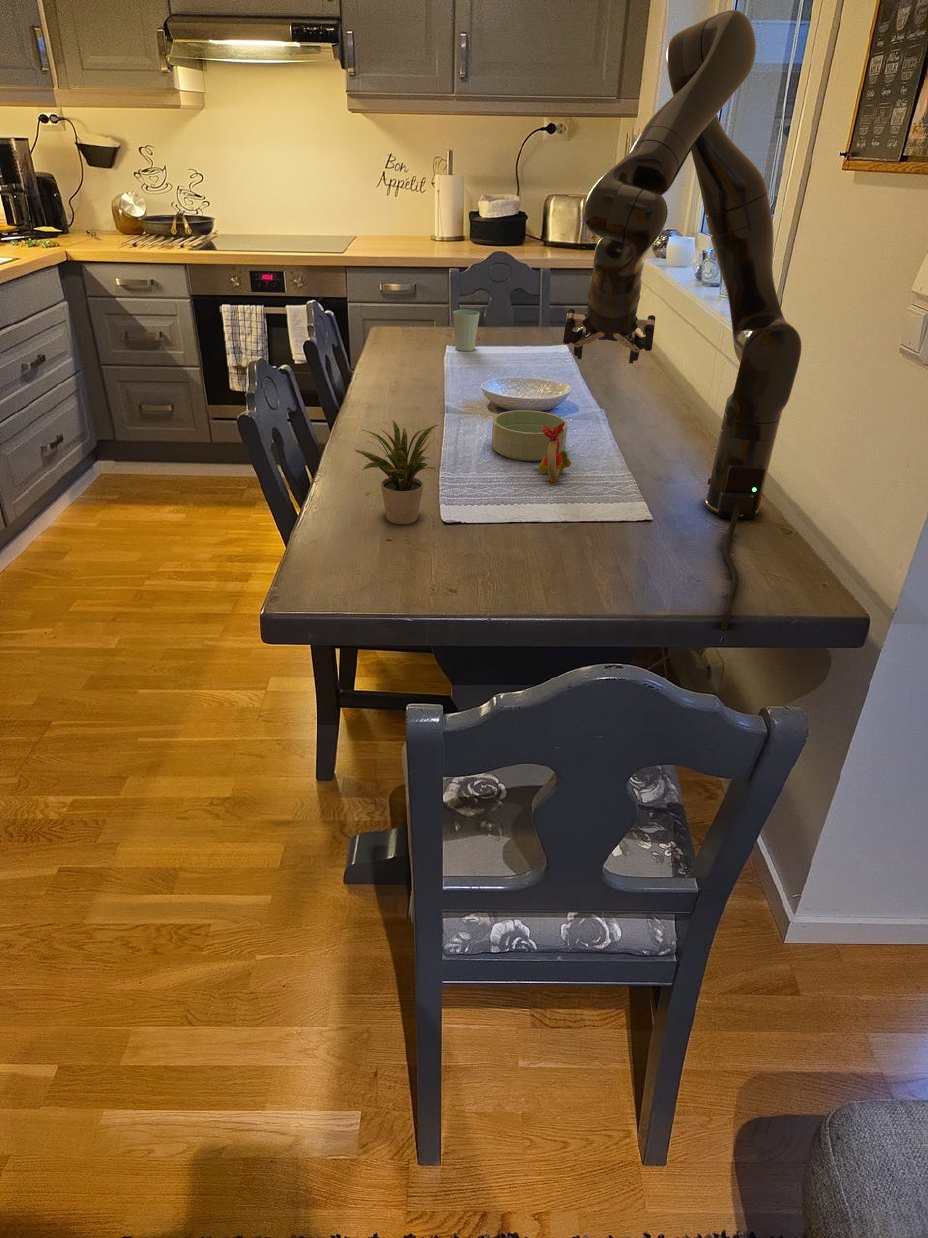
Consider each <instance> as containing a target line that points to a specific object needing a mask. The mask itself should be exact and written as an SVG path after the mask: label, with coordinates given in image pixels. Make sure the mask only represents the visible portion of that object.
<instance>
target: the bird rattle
mask: <svg viewBox="0 0 928 1238" xmlns="http://www.w3.org/2000/svg"><path fill="white" fill-rule="evenodd" d="M564 424H565V422H562V423H561V424H559V425H558V426H556V427H555V428H554V429H553V430H551V429H550V428H549V427H548V426H546V425H543V427H544V429H543V433H544V434H545V435H546V436H547V437H549V438H550V441H549V442H548V453H547V454H546V456H545V457H544V458H543V460H542V461H540V463H539V464H538V467H539V468H538V471H539V473H540V474H542V475H546V474H548V477H549V481H550V482H551V483H557V482H558V480H559V475H562V474H563V473H564V469H565V468H566V469H567V468H570V467H571V464H572V462H571V460H570V459H569V457H568V452H567V451H566V450H565V451H562V452H560V448H559V446H560V442H559V440H558V439H557V437H558V436H559V435H560V433H561V432H562V431H563V428H562V427H563V426H564Z"/></svg>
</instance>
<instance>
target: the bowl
mask: <svg viewBox="0 0 928 1238" xmlns="http://www.w3.org/2000/svg"><path fill="white" fill-rule="evenodd" d="M562 422H565V424H564V426H563V427H562V428H563V431H562V432H561V433H560V435H559V436H558V437H557V439H558V440H559V442H560V446H559V448H560V452H562V451H566V445H567V444H566V443H567V435H568V434H567V433H568V421H566V420H565V419H564V418H563V417H561V416H558V415H556V414H553V413H549V412H545V411H540V410H539V411H538V410H527V409H526V410H525V409H524V410H523V409H522V410H521V409H519V410H508V411H504V412H500V413H498V414H496V415H495V416H493V418H492V429H491V445H490V446H491V448H492V449H493V450H494V451H495V452H496V453H498V454H499V455H501V456H503V457H505V458H507V459H512V460H517V461H521V462H522V461H523V462H541V461H542V460H543V458H544V457H545V456H546V454H547V453H548V442H549V441H550V438H549V437H547V436H546V435H545V434H544V433H543V429H544V427H543V425H546V426H548V427H549V428H550V429H551V430H553V429H554V428H555V427H556V426H558V425H559V424H561V423H562Z"/></svg>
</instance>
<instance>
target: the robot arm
mask: <svg viewBox="0 0 928 1238" xmlns="http://www.w3.org/2000/svg"><path fill="white" fill-rule="evenodd" d="M756 54H757V44H756V35H755V31H754V28H753V25H752V23H751V21H750V19H749V18H748V16H747V15H746V14H745V13H744V12H742V11H740V10H737V9H729V10H726V11H725V10H724V11H722V12H719V13H716V14H714V15H712V16H709V17H707V18H706V19H703V20H701V21H699V22H697V23H695V24H693V25H692V26H689V27H687V28H684V29H682V30H680V31H679V32H677V33H675V34H674V35H673V36H672V38H671V39H670V40H669V43H668V45H667V50H666V69H667V76H668V81H669V84H670V89H671V93H672V95H673V96H672V97H671V98H670V99H668V101H667V102H665V104H663V105H662V106H661V107H660V108H659V109H658V110H657V112H655V114H653V116H652V117H651V118H650V119H649V120H648V122H647V123H646V124H645V126H644V127H643V129H642V130H641V131H640V133H639V135H638V137H637V139H636V140H635V142H634V144H633V145H632V147H631V149H630V150H629V152H628V154H627V155H626V156H624V158H622V159H621V160H620V161H619V162H618V163H617V164H615V166H613V167H612V168H611V169H609V170H608V171H607V172H606V173H605V174H604V175H603V176H602V177H601V178H600V179H598V181H597V182H596V183H595V184H594V185H593V187H592V188H591V189H590V192H589V193H588V195H587V197H586V199H585V202H584V206H583V222H584V225H585V227H586V229H587V230H588V231H589V232H590V233H591V234H593V235H594V236H597V237H600V240H598V242H597V244H596V246H595V249H594V253H593V254H594V255H593V263H592V264H593V265H592V267H593V268H592V274H591V278H590V280H589V286H588V288H589V289H588V292H587V298H588V299H587V307H586V312H585V313H584V314H580V313H576V310H575V309H573V308H569V309H567V312H566V318H565V323H564V324H565V325H564V332H563V339H562V342H563V344H564V345H570V344H572V345H573V355H574V356H575V357H577V360H583V359H582V358H583V351H584V345H585V344H587V345H589V344H591V343H593V342H594V341H596V340H598V341H612V342H618V341H619V342H620V343H621V344H622V345H623V346H624V347H625V348H629V349H630V350H629V358H628V364H634V362H637V361H638V360H639V356H640V352H641V350H644V351H646V352H651V351H652V349H653V344H654V343H653V342H654V335H655V328H656V327H655V325H656V316H655V315H653V314H649V315H648V316H647V319H639V318H638V316H637V312H638V307H639V302H640V299H641V292H642V277H643V272H644V267H645V266H644V265H645V261H646V258H647V255H648V253H649V252H650V250H651V248H652V247H653V246H654V244H655V243H656V241H657V240H658V238H659V236H661V233H662V232H663V229H664V228H665V225H666V223H667V219H668V209H669V208H668V204H667V202H666V199H665V197H664V196H663V195H665V194H666V193H667V192H668V191H669V190H670V189H671V187H672V185H673V184H674V182H675V180H676V178H677V176H678V175H679V173H680V171H681V169H682V167H683V165H684V163H685V161H686V160H687V158H688V156H689V155H690V154H691V156H692V160H693V165H694V169H695V172H696V177H697V182H698V185H699V190H700V195H701V200H702V205H703V210H704V211H703V212H704V215H705V220H706V224H707V229H708V233H709V237H710V241H711V244H712V248H713V252H714V255H715V256H714V257H715V259H716V262H717V266H718V269H719V273H720V275H721V278H722V282H723V284H724V288H725V289H726V290H725V291H726V294H727V301H728V305H729V314H730V321H731V330H732V331H731V332H732V341H733V350H734V353H735V357H736V358H737V361H739V367H738V371H737V376H736V380H735V383H734V388H733V390H732V393H730V394H729V395H728V396H727V398H726V401H725V407H724V412H723V417H722V421H721V426H720V430H719V435H718V439H717V440H718V441H717V445H716V451H715V455H714V460H713V466H712V470H711V475H710V477H709V478H708V480H707V484H706V485H707V486H708V492H707V495H706V497H705V502H704V505H705V506H704V507H705V508H706V509H707V510H708V511H710V512H712V513H714V514H715V515H717V516H718V517H719V518H724V519H725V518H726V519H727V518H728V519H731V520H730V523H729V526H728V528H727V531H726V532H727V533H726V535H725V539H724V541H723V544H722V557H723V561H724V563H725V565H726V566H727V568H728V570H729V573H730V576H731V582H730V583H731V584H730V588H729V591H728V594H727V596H726V600H725V603H724V608H723V613H722V616H721V622H720V627H719V628H720V629H721V630H722V631H727V630H728V628H729V623H730V619H731V614H732V609H733V603H734V600H735V597H736V594H737V591H738V587H739V582H740V581H739V580H740V579H739V574H738V573H739V572H738V570H737V568H736V566H735V564H734V562H733V560H732V559H731V555H730V544H731V542H732V538H733V535H734V532H735V529H736V526H737V523H738V519H740V520H741V519H743V520H755V517H756V516H757V515H758V514H759V511H760V509H761V508H760V505H761V500H762V496H763V493H764V492H763V491H764V488H765V483H766V480H767V475H768V472H769V466H770V462H771V459H772V454H773V450H774V446H775V441H776V439H777V433H778V430H779V425H780V421H781V417H782V414H783V410H784V409H785V407H786V406H787V405H788V403H789V400H790V397H791V393H792V390H793V386H794V383H795V379H796V375H797V372H798V368H799V364H800V360H801V356H802V339H801V335H800V334H799V332H798V330H797V329H796V328H795V327H794V326H793V325H791V324H790V322H787V320H786V318H785V317H784V314H783V311H782V308H781V305H780V302H779V301H780V300H779V298H778V294H777V291H776V287H775V281H774V273H773V272H774V271H773V264H774V262H773V261H774V244H775V243H774V241H775V240H774V238H775V237H774V234H775V233H774V221H773V213H772V209H771V204H770V198H769V194H768V188H767V184H766V181H765V178H764V176H763V175H762V173H761V171H760V170H759V169H758V168H757V166H756V165H755V164H754V162H752V160H751V159H750V158H749V157H747V155H746V154H745V153H744V152H743V151H742V150H741V149H740V148H739V147H738V146H737V145H736V144H735V143H734V141H733V140H731V138H730V137H729V136H728V134H727V133H726V131H725V129H724V128H723V125H722V124H721V121H720V119H719V115H718V113H720V111H721V110H722V109H723V107H724V106H725V104H727V102H728V101H729V99H730V98H731V97H732V96H733V95H734V94H735V93H736V92H737V90H738V89H739V88H740V87H741V86H742V84H744V82H745V81H746V80H747V78H749V77H748V76H749V75H750V73H751V71H752V69H753V67H754V64H755V60H756ZM581 324H582V326H581V327H580V328H578V329H577V327H579V325H581ZM638 329H639V330H640V332H641V333H642V335H643V336H642V335H641V334H640V333H638V331H637V330H638ZM575 330H576V331H575Z"/></svg>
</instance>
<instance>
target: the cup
mask: <svg viewBox="0 0 928 1238" xmlns="http://www.w3.org/2000/svg"><path fill="white" fill-rule="evenodd" d="M452 314H453V329H454V331H453V333H454V343H455V350H457V351H461V352H471V351H474V350H475V347H476V340H477V333H478V325H479V320H480V312H479V311H477V310H472V309H456V310H454V311H452Z"/></svg>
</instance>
